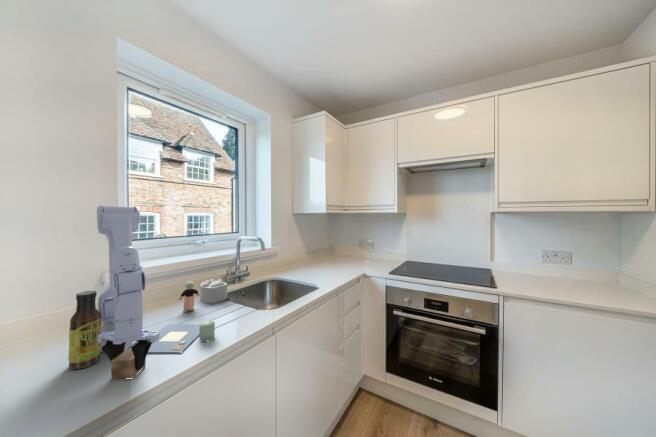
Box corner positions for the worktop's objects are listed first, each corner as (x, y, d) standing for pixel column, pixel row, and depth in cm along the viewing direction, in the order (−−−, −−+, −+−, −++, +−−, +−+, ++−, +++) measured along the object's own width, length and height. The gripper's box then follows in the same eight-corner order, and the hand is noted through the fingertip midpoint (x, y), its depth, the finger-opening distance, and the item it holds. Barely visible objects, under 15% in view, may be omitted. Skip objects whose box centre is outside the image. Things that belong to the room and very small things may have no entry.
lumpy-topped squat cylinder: (210, 304, 112) (210, 285, 112) (194, 298, 119) (194, 281, 119) (230, 298, 121) (230, 280, 120) (214, 292, 128) (214, 276, 127)
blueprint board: (130, 353, 73) (130, 351, 73) (168, 325, 91) (168, 323, 91) (181, 353, 74) (181, 351, 74) (208, 325, 92) (208, 324, 92)
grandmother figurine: (182, 314, 101) (182, 283, 101) (178, 311, 103) (178, 282, 103) (201, 308, 107) (201, 279, 107) (196, 306, 109) (197, 278, 109)
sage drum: (196, 341, 80) (196, 326, 80) (203, 334, 85) (203, 320, 85) (210, 341, 80) (210, 327, 80) (216, 334, 85) (216, 320, 85)
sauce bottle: (81, 372, 64) (80, 297, 64) (62, 369, 65) (61, 295, 65) (107, 358, 71) (106, 289, 70) (88, 355, 72) (88, 288, 71)
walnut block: (111, 379, 62) (111, 360, 62) (127, 367, 67) (126, 349, 67) (131, 379, 62) (131, 360, 62) (145, 367, 67) (145, 349, 67)
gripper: (85, 323, 60) (86, 378, 60) (146, 324, 60) (146, 378, 61) (110, 312, 67) (110, 360, 67) (164, 312, 67) (164, 360, 68)
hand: (129, 367), depth 64 cm, fingers closed on walnut block, 5 cm apart
